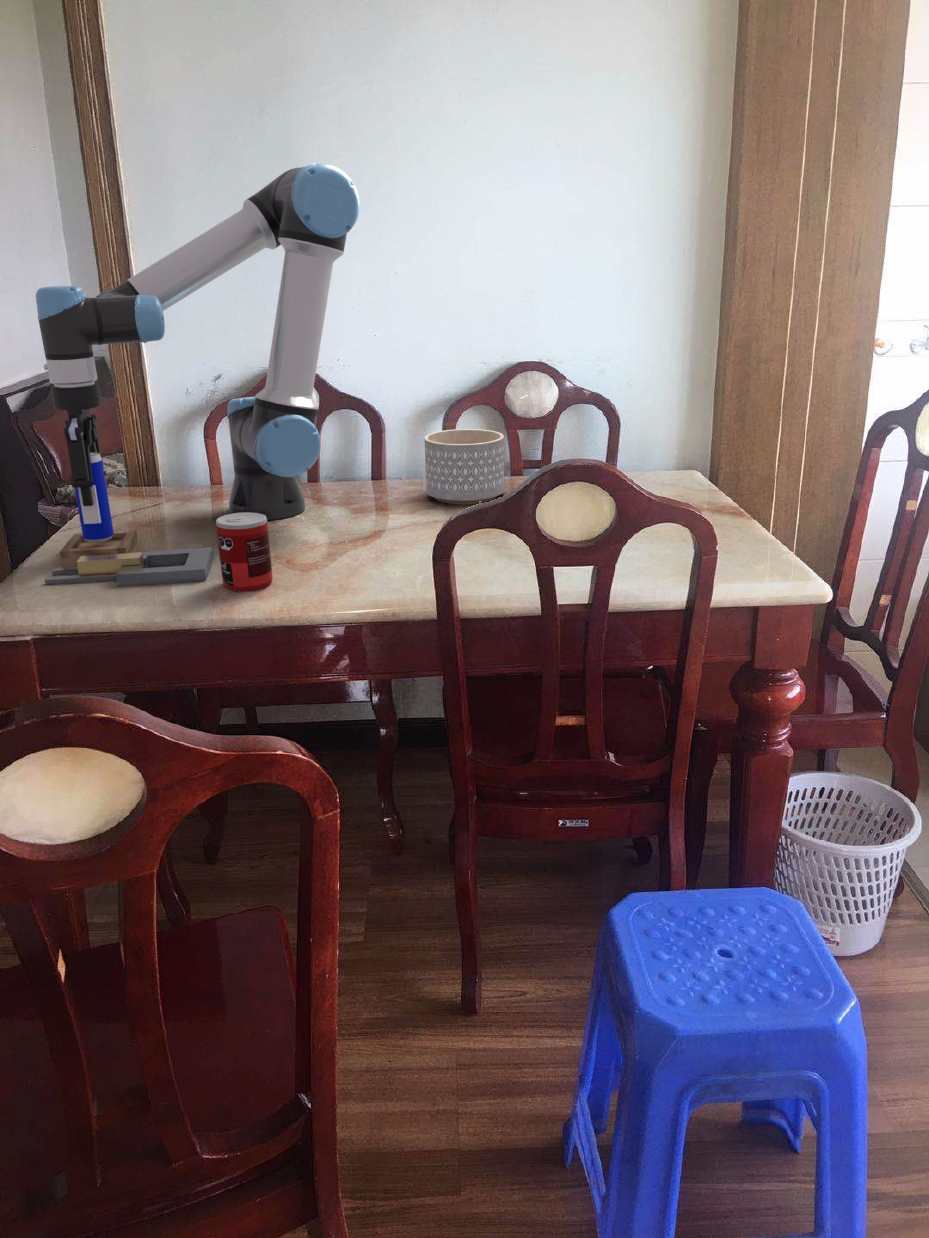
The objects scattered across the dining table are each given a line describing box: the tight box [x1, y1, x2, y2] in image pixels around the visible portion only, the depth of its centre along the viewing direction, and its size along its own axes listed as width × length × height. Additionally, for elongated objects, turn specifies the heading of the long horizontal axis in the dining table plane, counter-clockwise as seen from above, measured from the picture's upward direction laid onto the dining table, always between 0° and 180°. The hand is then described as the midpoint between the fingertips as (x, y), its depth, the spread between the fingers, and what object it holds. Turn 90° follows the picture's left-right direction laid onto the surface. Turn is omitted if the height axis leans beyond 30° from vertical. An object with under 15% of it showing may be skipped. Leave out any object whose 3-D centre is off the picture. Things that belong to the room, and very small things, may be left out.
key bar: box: [76, 553, 145, 576], centre depth 166 cm, size 10×3×3 cm, turn 98°
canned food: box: [215, 512, 273, 593], centre depth 159 cm, size 8×8×11 cm
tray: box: [59, 529, 140, 568], centre depth 177 cm, size 11×11×3 cm
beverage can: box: [74, 452, 114, 543], centre depth 173 cm, size 5×5×15 cm
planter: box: [423, 428, 505, 505], centre depth 208 cm, size 16×16×13 cm
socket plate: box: [44, 547, 214, 587], centre depth 167 cm, size 26×12×2 cm, turn 98°
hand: (96, 518), depth 175 cm, fingers closed on beverage can, 5 cm apart
